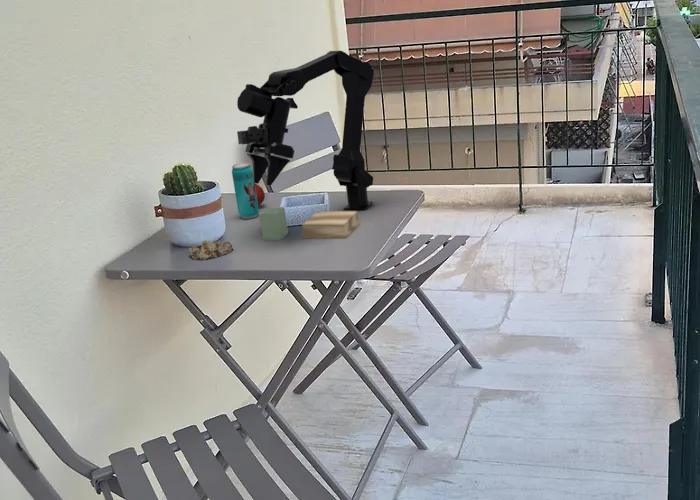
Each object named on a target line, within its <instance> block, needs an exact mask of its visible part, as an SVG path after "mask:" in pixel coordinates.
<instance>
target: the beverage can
mask: <svg viewBox="0 0 700 500" xmlns="http://www.w3.org/2000/svg"><path fill="white" fill-rule="evenodd" d="M231 167H232V170H231V175H232V181H233V188H234V193H235V194H234V195H235V199H236V206H237V212H238V214H239V216H240V219H242V220H243V219H244V220H250V219H255V218H256V217H258V216H259V210H260V209H259V207H258V201H257V195H256V189H255V184H256V183H254V176H253V166H251V163H250V162H240V163H235V164H233V165H232V166H231Z"/></svg>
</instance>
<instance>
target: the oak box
mask: <svg viewBox="0 0 700 500" xmlns="http://www.w3.org/2000/svg"><path fill="white" fill-rule="evenodd" d="M359 222H360V221H359V214H358V210H338V211H337V210H333V211H331V210H330V211H327V210H326V211H322V210H320V211H316V212H315V213H314V214H313V215H311V216H310V218H308V219H307V220H306V221H305V222H304V223H302V225H301V226H302V228H301V229H302V233H303V239H346V238H347V237H348V236H349V235H350V234H351V233H352V232H353V231H354V230H355V229H356V228H358V226H359V225H360V223H359Z"/></svg>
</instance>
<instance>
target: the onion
mask: <svg viewBox="0 0 700 500" xmlns="http://www.w3.org/2000/svg"><path fill="white" fill-rule="evenodd" d="M255 189H256V195H257V201H258V208H259V207H260V206H261V205H262V203H263V202H264V200H265V198H266V197H265V191H264V189H263V188H262V187H261V186H260V185H259V184H257V183H255Z"/></svg>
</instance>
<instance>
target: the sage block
mask: <svg viewBox="0 0 700 500" xmlns="http://www.w3.org/2000/svg"><path fill="white" fill-rule="evenodd" d="M258 219H259V224H260V225H259V226H260V232H261V239H262V240H263V241H264V240H267V241H268V240H270V241H271V240H272V241H275V240H276V241H281V240H283V238H285V237H286V236H287V235H288V234H289V230H288V223H287V216H286V209H285V207H280V206H279V207H276V206H275V207H265V208H264V209H262V210H261V211H260V212H258Z"/></svg>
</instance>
